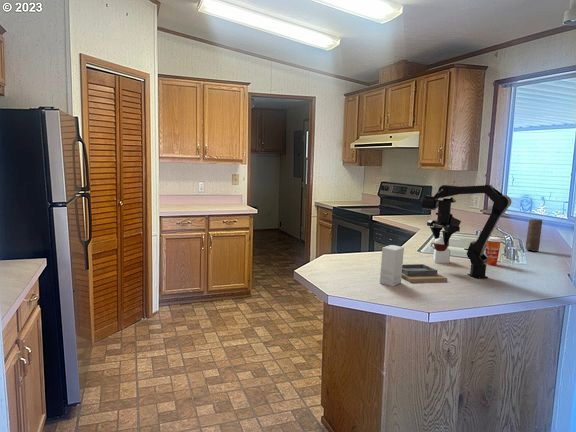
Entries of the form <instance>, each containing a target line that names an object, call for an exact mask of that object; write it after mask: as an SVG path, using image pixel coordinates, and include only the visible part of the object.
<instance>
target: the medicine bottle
mask: <svg viewBox="0 0 576 432" xmlns="http://www.w3.org/2000/svg"><path fill="white" fill-rule="evenodd" d="M449 245H450V240H449V241H448V246H447V249H446V250H445V251H437V250H436V249H434V248H433V256H432V259H433V262H434V263H435V262H436V263H435V264H448V265H449V264H450V259H451V249H450V248H449Z"/></svg>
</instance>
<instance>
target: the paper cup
mask: <svg viewBox="0 0 576 432" xmlns="http://www.w3.org/2000/svg"><path fill="white" fill-rule="evenodd" d="M501 243H502V238H501V237H496V236H490V237H489V239H488V241H487V243H486V247H485V251H484V255H485V256H486V257H487V258H488V261H487V263H485V264H486V265H487V264H488V266H497V264H498V259H499V255H500V248H501Z"/></svg>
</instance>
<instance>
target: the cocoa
mask: <svg viewBox="0 0 576 432" xmlns="http://www.w3.org/2000/svg"><path fill="white" fill-rule="evenodd" d="M447 246H448V243H447V245H444V240H443V236H439V238H437V239H435V238H434V242H431V243H430V247H432V249H433V250H434V249H436V250H437V251H445V250H446V249H447Z"/></svg>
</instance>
